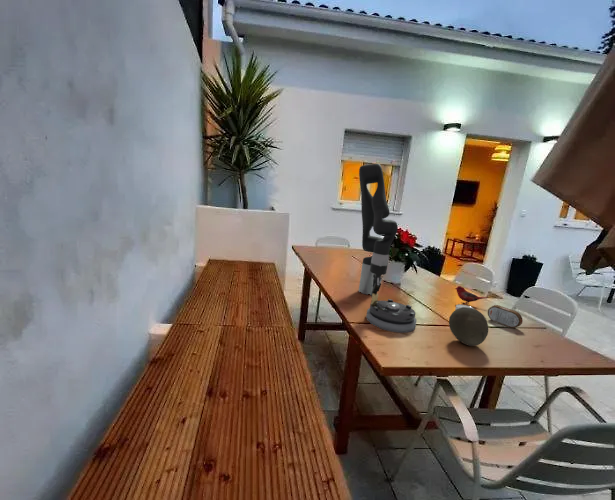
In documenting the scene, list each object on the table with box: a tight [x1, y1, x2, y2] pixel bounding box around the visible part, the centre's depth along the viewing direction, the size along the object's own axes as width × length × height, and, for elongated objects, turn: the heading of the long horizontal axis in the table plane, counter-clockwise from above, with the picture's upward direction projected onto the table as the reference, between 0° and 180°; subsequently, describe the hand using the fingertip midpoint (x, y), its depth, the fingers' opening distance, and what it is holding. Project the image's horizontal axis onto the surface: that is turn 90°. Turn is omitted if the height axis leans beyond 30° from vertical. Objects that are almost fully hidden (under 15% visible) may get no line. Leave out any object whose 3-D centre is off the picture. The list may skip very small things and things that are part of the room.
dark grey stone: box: [448, 307, 489, 347], centre depth 125 cm, size 14×14×15 cm
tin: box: [487, 304, 524, 329], centre depth 152 cm, size 15×3×8 cm, turn 36°
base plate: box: [365, 307, 417, 333], centre depth 141 cm, size 22×22×3 cm
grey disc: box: [369, 292, 416, 324], centre depth 140 cm, size 20×20×9 cm
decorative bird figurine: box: [454, 285, 489, 305], centre depth 176 cm, size 3×18×10 cm, turn 71°
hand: (373, 298), depth 144 cm, fingers closed
